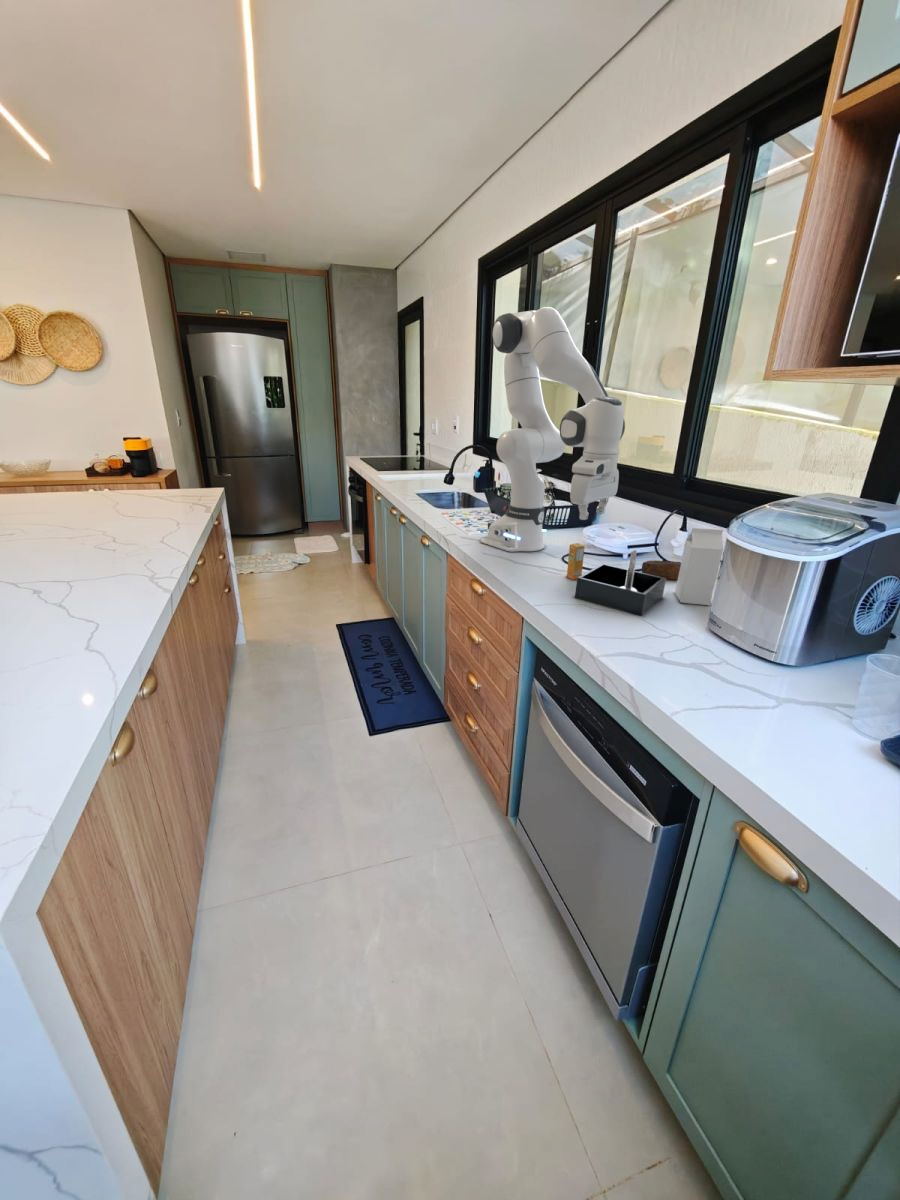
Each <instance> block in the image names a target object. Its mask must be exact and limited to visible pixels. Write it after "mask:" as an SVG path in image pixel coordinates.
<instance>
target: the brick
mask: <svg viewBox="0 0 900 1200" xmlns="http://www.w3.org/2000/svg"><path fill="white" fill-rule="evenodd" d="M680 566H681V561H675V560H674V561H671V560H646V561H643V562H642V563H641V573H646V574H650V575H654V576H659V577H663V578H666V581H667V580H668V581H678V576H679V571H680Z"/></svg>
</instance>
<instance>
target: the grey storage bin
mask: <svg viewBox="0 0 900 1200" xmlns="http://www.w3.org/2000/svg"><path fill="white" fill-rule="evenodd" d="M627 569H628V568H624V567H619V566H615V565H611V564H606V563H601V564H599V565H597V566H595V567H594V568H592V569H590V570H588V571H586V572H585V573H582V575H581V576H579V577H578V578H577V579H576V583H575V584H576V585H575V591H574V592H575V593H574V598H575V599H578V600H582V601H586V602H589V603H593V604H597V605H600V606H604V607H607V608H611V609H614V610H618V611H621V612H624V613H625V612H626V613H629V614H632V615H635V616H639V617H642V616H643V615H644V614H646V613H647V612H648V611H649V610H650V609H652V608H653V607H654V606H655V605H656V604H657V603H658V602H660V601H661V600H662V599H663V597H664V592H665V587H666V582H667V579H666V578H663V577H659V576H654V575H650V574H646V573H642V571H637V570H634V571H635V572H634V577H633V581H632V582H633V583H632V584H633V585H632V587H633V588H635V589H636V590H637V591H638V592H636V591H633V590H629V589H625V588H621V586H625V584H626V583H625V582H626V581H625V580H626V578H627V577H626V576H627V571H628V570H627Z"/></svg>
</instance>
